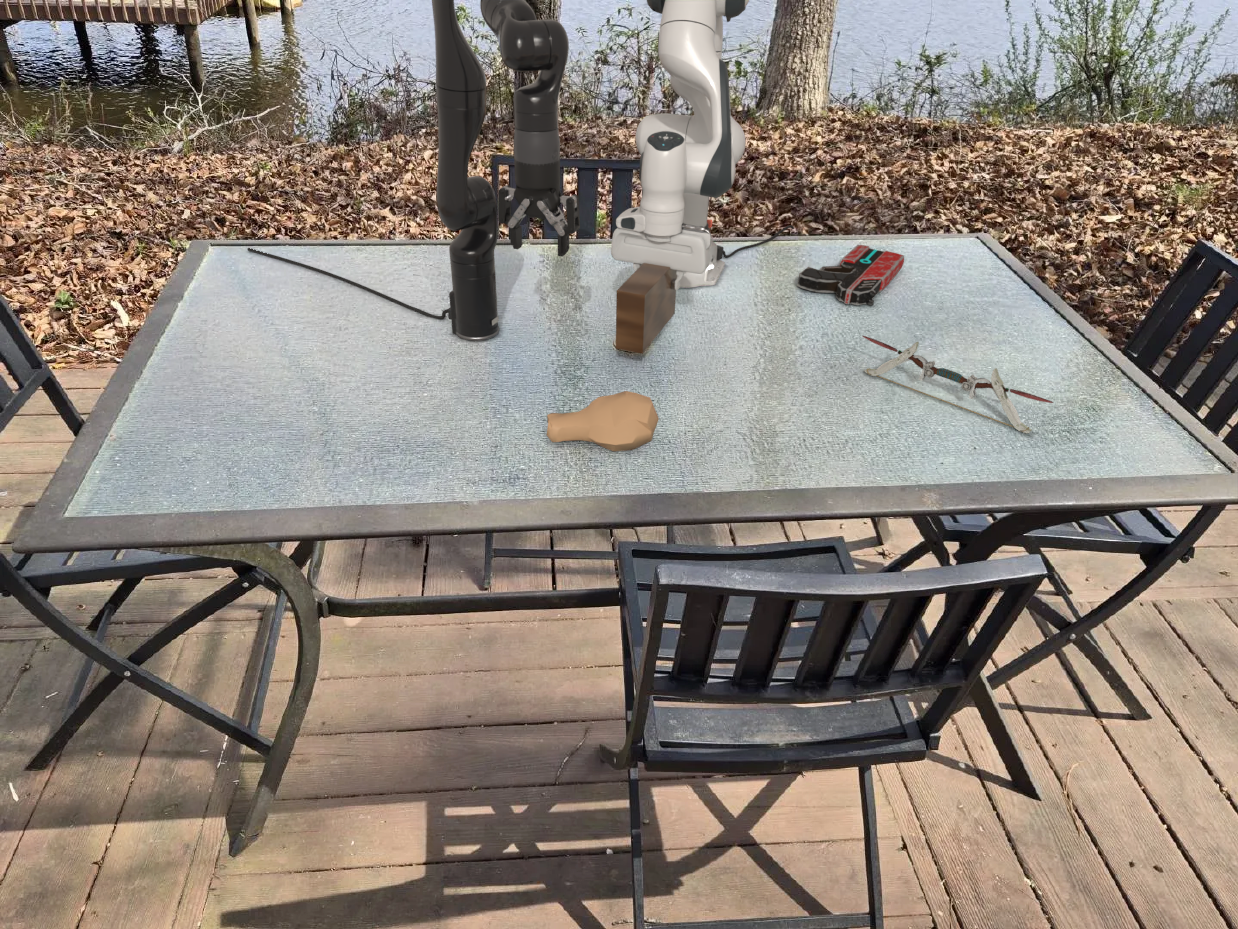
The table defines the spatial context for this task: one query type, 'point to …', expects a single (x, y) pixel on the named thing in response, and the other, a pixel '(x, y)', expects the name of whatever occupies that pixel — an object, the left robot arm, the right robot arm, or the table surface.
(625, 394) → the squash
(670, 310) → the box
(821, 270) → the gun
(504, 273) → the table surface
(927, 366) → the bow
